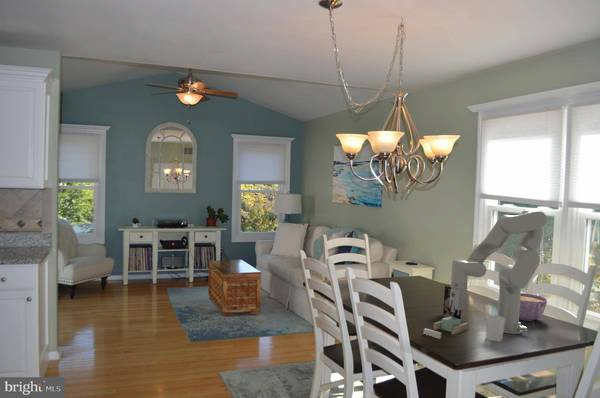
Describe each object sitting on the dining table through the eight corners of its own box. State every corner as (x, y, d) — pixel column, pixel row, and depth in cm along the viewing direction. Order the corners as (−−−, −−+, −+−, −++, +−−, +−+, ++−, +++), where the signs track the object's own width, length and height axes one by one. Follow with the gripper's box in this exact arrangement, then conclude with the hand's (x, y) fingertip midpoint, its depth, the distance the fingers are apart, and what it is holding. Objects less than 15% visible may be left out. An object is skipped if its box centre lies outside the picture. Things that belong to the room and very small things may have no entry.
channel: (467, 329, 241) (468, 323, 241) (453, 335, 231) (453, 328, 231) (448, 324, 248) (448, 318, 248) (433, 329, 238) (433, 323, 238)
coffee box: (442, 316, 262) (444, 286, 261) (445, 313, 268) (446, 283, 267) (460, 319, 258) (462, 288, 257) (462, 316, 264) (464, 286, 263)
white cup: (488, 335, 233) (489, 314, 233) (505, 339, 228) (507, 317, 228) (482, 339, 227) (483, 317, 226) (500, 343, 222) (501, 321, 221)
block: (460, 329, 240) (461, 319, 239) (452, 332, 235) (452, 321, 235) (449, 326, 244) (450, 316, 244) (441, 328, 240) (441, 318, 240)
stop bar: (440, 338, 226) (441, 332, 225) (439, 338, 225) (439, 333, 224) (425, 333, 231) (425, 328, 231) (423, 334, 230) (423, 328, 230)
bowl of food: (551, 326, 253) (552, 303, 252) (508, 322, 257) (510, 299, 256) (540, 315, 272) (541, 294, 272) (501, 312, 276) (502, 291, 276)
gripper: (458, 288, 235) (456, 327, 236) (473, 285, 245) (471, 322, 246) (444, 285, 240) (441, 323, 241) (459, 282, 251) (457, 318, 252)
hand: (456, 322), depth 244 cm, fingers closed
